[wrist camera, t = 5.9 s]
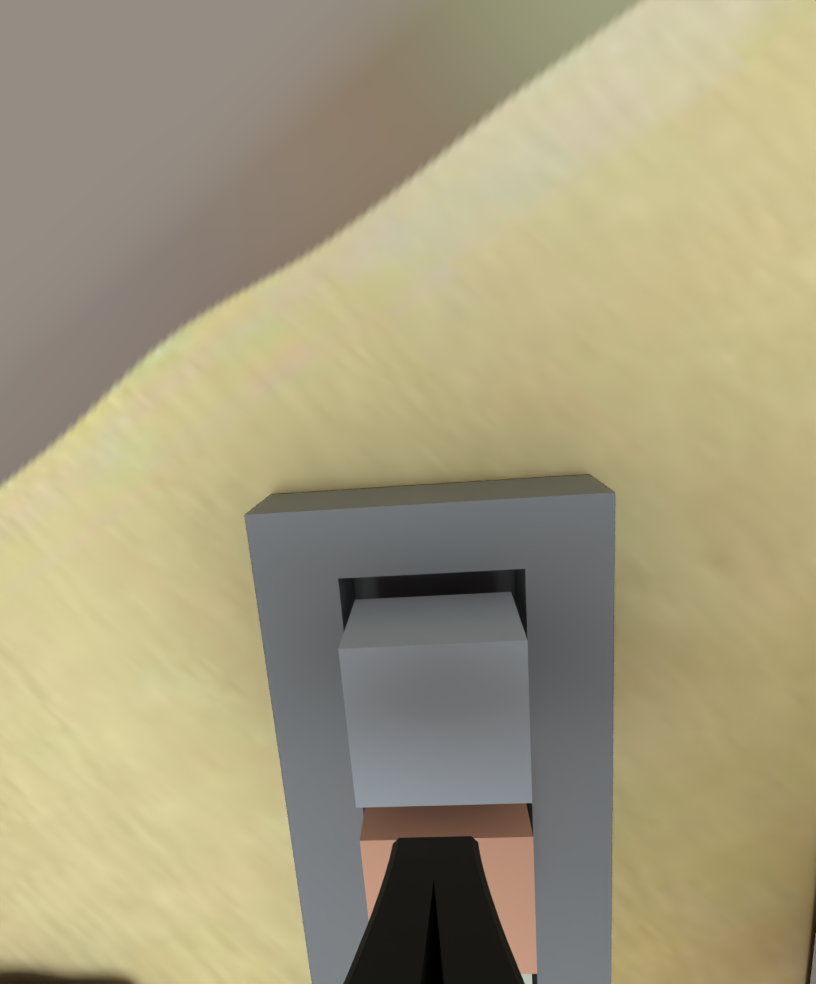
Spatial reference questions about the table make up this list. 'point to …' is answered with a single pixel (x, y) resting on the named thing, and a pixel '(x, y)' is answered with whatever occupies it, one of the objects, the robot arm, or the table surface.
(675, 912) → the table surface
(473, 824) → the terracotta key
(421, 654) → the slate key
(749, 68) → the table surface
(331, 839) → the key panel
